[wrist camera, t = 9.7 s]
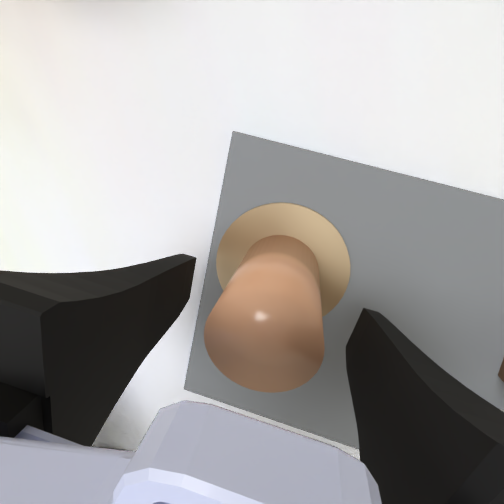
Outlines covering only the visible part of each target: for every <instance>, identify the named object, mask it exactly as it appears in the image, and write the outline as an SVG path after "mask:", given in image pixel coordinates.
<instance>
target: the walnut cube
mask: <svg viewBox="0 0 504 504" xmlns="http://www.w3.org/2000/svg"><path fill="white" fill-rule="evenodd" d="M498 376H499V377H500V379H501V380H502V381H503V382H504V358H503V361H502V364H501V367H500V370H499V373H498Z"/></svg>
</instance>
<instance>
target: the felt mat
mask: <svg viewBox="0 0 504 504" xmlns="http://www.w3.org/2000/svg"><path fill="white" fill-rule="evenodd" d="M278 202H285V203H294V204H299V205H302V206H305V207H308V208H310V209H312V210H314V211H316V212H318V213H319V214H321V215H322V216H324V217H325V218H326V219H328V220H329V221H330V222H331V223H332V224H333V225H334V226H335V228H336V229H337V230H338V232H339V233H340V235H341V236H342V238H343V240H344V242H345V245H346V247H347V250H348V254H349V258H350V278H349V283H348V286H347V289H346V291H345V293H344V295H343V297H342V299H341V300H340V301H339V303H338V304H337V305H336V306H335V307H334V308H333V309H332V310H331V311H330V312H329V313H328V314H326V315H325V316H323V317H322V320H323V333H324V347H325V350H324V357H323V361H322V364H321V366H320V368H319V370H318V371H317V373H316V374H315V375H314V376H313V377H312V378H311V379H310V380H309V381H308V382H307V383H305V384H303V385H302V386H300V387H297V388H295V389H292V390H289V391H284V392H276V393H269V392H260V391H255V390H251V389H248V388H245V387H243V386H241V385H239V384H237V383H235V382H233V381H232V380H230V379H229V378H227V377H226V376H225V375H224V374H223V373H222V372H220V371H219V369H218V368H217V367H216V366H215V365H214V363H213V362H212V360H211V359H210V357H209V355H208V352H207V350H206V347H205V342H204V328H205V323H206V321H207V318H208V316H209V314H210V313H211V311H212V309H213V308H214V306H215V304H216V303H217V301H218V299H219V298H220V296H221V294H222V293H223V289H222V287H221V285H220V282H219V279H218V275H217V269H216V257H217V251H218V247H219V244H220V241H221V239H222V237H223V235H224V234H225V232H226V230H227V229H228V228H229V227H230V225H231V224H232V223H233V222H234V221H235V220H236V219H237V218H239V217H240V216H241V215H242V214H244V213H245V212H247V211H249V210H251V209H253V208H255V207H258V206H261V205H264V204H269V203H278ZM363 308H367V309H370V310H373V311H377V312H379V313H381V314H382V315H383V316H384V317H386V318H387V319H388V320H389V321H390V322H391V323H392V324H393V325H394V326H396V327H397V328H398V329H399V330H400V331H401V332H402V333H403V334H404V335H405V336H406V337H407V338H408V339H409V340H410V341H411V342H412V343H414V344H415V345H416V346H417V347H418V348H419V349H420V350H421V351H422V352H423V353H425V354H426V355H427V356H428V357H429V358H430V359H432V360H433V361H434V362H435V363H436V364H437V365H439V366H440V367H441V368H442V369H444V370H445V371H446V372H447V373H449V374H450V375H451V376H453V377H454V378H455V379H457V380H458V381H459V382H461V383H462V384H463V385H465V386H466V387H467V388H469V389H470V390H472V391H473V392H474V393H476V394H477V395H479V396H480V397H482V398H483V399H485V400H486V401H488V402H489V403H491V404H492V405H494V406H495V407H497V408H498V409H501V410H504V382H503V381H502V380H501V379H500V377H499V376H498V373H499V370H500V367H501V364H502V361H503V358H504V200H503V199H499V198H495V197H491V196H487V195H483V194H479V193H475V192H471V191H467V190H463V189H459V188H455V187H452V186H448V185H444V184H440V183H436V182H432V181H428V180H424V179H420V178H416V177H412V176H408V175H404V174H400V173H396V172H392V171H389V170H385V169H381V168H377V167H373V166H369V165H365V164H361V163H357V162H353V161H349V160H345V159H341V158H337V157H333V156H329V155H326V154H322V153H318V152H314V151H310V150H306V149H302V148H298V147H294V146H290V145H286V144H282V143H278V142H274V141H270V140H266V139H263V138H259V137H255V136H251V135H247V134H243V133H239V132H235V131H233V132H232V137H231V143H230V148H229V153H228V159H227V164H226V169H225V174H224V180H223V185H222V190H221V195H220V201H219V206H218V211H217V217H216V222H215V227H214V232H213V238H212V243H211V248H210V254H209V259H208V264H207V269H206V275H205V280H204V285H203V291H202V296H201V301H200V306H199V312H198V317H197V322H196V327H195V333H194V338H193V343H192V349H191V354H190V359H189V364H188V370H187V375H186V380H185V386H184V389H185V390H188V391H191V392H194V393H196V394H199V395H202V396H205V397H208V398H211V399H214V400H217V401H220V402H223V403H225V404H228V405H231V406H234V407H237V408H240V409H243V410H246V411H249V412H252V413H254V414H257V415H260V416H263V417H266V418H269V419H272V420H275V421H278V422H281V423H284V424H286V425H289V426H292V427H295V428H298V429H301V430H304V431H307V432H310V433H313V434H315V435H318V436H321V437H324V438H327V439H330V440H333V441H336V442H339V443H342V444H344V445H347V446H350V447H353V448H356V449H359V439H358V430H357V423H356V418H355V413H354V408H353V402H352V397H351V392H350V387H349V381H348V376H347V370H346V345H347V342H348V340H349V338H350V336H351V334H352V332H353V329H354V327H355V325H356V323H357V321H358V318H359V316H360V314H361V312H362V310H363Z"/></svg>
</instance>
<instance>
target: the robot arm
mask: <svg viewBox="0 0 504 504" xmlns="http://www.w3.org/2000/svg"><path fill="white" fill-rule="evenodd" d="M195 263H196V258H195V257H192V256H189V255H185V254H179V255H174V256H170V257H166V258H162V259H159V260H155V261H151V262H147V263H143V264H138V265H133V266H129V267H124V268H118V269H112V270H104V271H95V272H79V273H25V272H12V271H0V504H504V412H503V411H501V410H500V409H498V408H497V407H495V406H494V405H492V404H491V403H489V402H488V401H486V400H485V399H483V398H482V397H480V396H479V395H477V394H476V393H474V392H473V391H472V390H470V389H469V388H467V387H466V386H465V385H463V384H462V383H461V382H459V381H458V380H457V379H455V378H454V377H453V376H451V375H450V374H449V373H447V372H446V371H445V370H444V369H442V368H441V367H440V366H439V365H437V364H436V363H435V362H434V361H433V360H432V359H430V358H429V357H428V356H427V355H426V354H425V353H423V352H422V351H421V350H420V349H419V348H418V347H417V346H416V345H415V344H414V343H412V342H411V341H410V340H409V339H408V338H407V337H406V336H405V335H404V334H403V333H402V332H401V331H400V330H399V329H398V328H397V327H396V326H394V325H393V324H392V323H391V322H390V321H389V320H388V319H387V318H386V317H384V316H383V315H382V314H381V313H379V312H377V311H373V310H370V309H367V308H363V310H362V312H361V314H360V316H359V318H358V321H357V323H356V325H355V327H354V329H353V332H352V334H351V336H350V338H349V340H348V342H347V345H346V370H347V376H348V381H349V387H350V392H351V397H352V402H353V408H354V413H355V418H356V423H357V430H358V439H359V451H360V461H359V460H358V459H356V458H354V457H352V456H351V455H349V454H347V453H345V452H344V451H342V450H340V449H338V448H337V447H335V446H332V445H329V444H326V443H323V442H321V441H318V440H315V439H312V438H309V437H306V436H303V435H300V434H297V433H294V432H291V431H288V430H285V429H283V428H280V427H277V426H274V425H271V424H268V423H265V422H262V421H259V420H256V419H253V418H250V417H248V416H245V415H242V414H239V413H236V412H233V411H230V410H227V409H224V408H221V407H218V406H215V405H212V404H207V403H199V402H192V401H181V402H178V403H175V404H172V405H169V406H167V407H164V408H161V409H160V410H159V412H158V413H157V415H156V417H155V419H154V420H153V422H152V424H151V425H150V427H149V429H148V431H147V432H146V434H145V436H144V438H143V440H142V441H141V443H140V445H139V447H138V448H137V450H136V452H133V451H124V450H115V449H106V448H98V447H91V445H92V444H93V442H94V440H95V438H96V437H97V435H98V433H99V431H100V430H101V428H102V426H103V425H104V423H105V421H106V420H107V418H108V416H109V414H110V413H111V411H112V409H113V408H114V406H115V404H116V403H117V401H118V400H119V398H120V396H121V395H122V393H123V391H124V390H125V388H126V387H127V385H128V383H129V382H130V380H131V379H132V377H133V376H134V374H135V373H136V371H137V369H138V368H139V366H140V365H141V363H142V362H143V360H144V359H145V358H146V356H147V355H148V354H149V352H150V351H151V350H152V349H153V347H154V346H155V345H156V344H157V343H158V341H159V340H160V339H161V338H162V336H163V335H164V334H165V333H166V331H167V330H168V329H169V328H170V327H171V325H172V324H173V323H174V322H175V320H176V319H177V318H178V316H179V315H180V313H181V312H182V310H183V308H184V307H185V305H186V303H187V302H188V300H189V298H190V292H191V286H192V280H193V275H194V269H195Z"/></svg>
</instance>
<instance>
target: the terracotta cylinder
mask: <svg viewBox="0 0 504 504" xmlns="http://www.w3.org/2000/svg"><path fill="white" fill-rule="evenodd" d="M204 342H205V347H206V350H207V352H208V355H209V357H210V359H211V360H212V362H213V363H214V365H215V366H216V367H217V368H218V369H219V371H220V372H222V373H223V374H224V375H225V376H226V377H227V378H229V379H230V380H232V381H233V382H235V383H237V384H239V385H241V386H243V387H245V388H248V389H251V390H255V391H260V392H269V393H276V392H284V391H289V390H292V389H295V388H297V387H300V386H302V385H303V384H305V383H307V382H308V381H309V380H310V379H311V378H312V377H313V376H314V375H315V374H316V373H317V371H318V370H319V368H320V366H321V364H322V361H323V357H324V350H325V347H324V333H323V320H322V306H321V292H320V279H319V266H318V262H317V259H316V257H315V255H314V253H313V252H312V251H311V249H310V248H309V247H308V246H307V245H306V244H304V243H303V242H302V241H300V240H298V239H296V238H294V237H290V236H286V235H272V236H267V237H265V238H262V239H260V240H258V241H257V242H256V243H254V244H253V245H252V246H251V247H250V249H249V250H248V251H247V253H246V255H245V256H244V258H243V260H242V261H241V263H240V265H239V266H238V268H237V270H236V271H235V273H234V274H233V276H232V278H231V279H230V281H229V283H228V284H227V286H226V288H225V289H224V291H223V293H222V294H221V296H220V298H219V299H218V301H217V303H216V304H215V306H214V308H213V309H212V311H211V313H210V314H209V316H208V318H207V321H206V323H205V328H204Z"/></svg>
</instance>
